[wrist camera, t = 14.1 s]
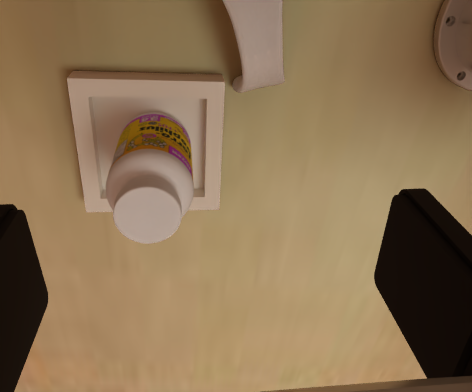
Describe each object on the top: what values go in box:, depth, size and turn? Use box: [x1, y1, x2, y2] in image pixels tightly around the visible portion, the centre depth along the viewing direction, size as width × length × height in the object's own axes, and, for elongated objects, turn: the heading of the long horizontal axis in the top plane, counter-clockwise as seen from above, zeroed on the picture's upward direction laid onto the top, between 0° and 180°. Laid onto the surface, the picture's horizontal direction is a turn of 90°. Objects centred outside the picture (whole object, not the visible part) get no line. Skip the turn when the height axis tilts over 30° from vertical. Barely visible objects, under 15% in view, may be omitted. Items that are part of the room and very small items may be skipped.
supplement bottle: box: [106, 112, 194, 243], centre depth 34 cm, size 7×7×13 cm
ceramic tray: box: [67, 71, 225, 212], centre depth 40 cm, size 13×13×2 cm
